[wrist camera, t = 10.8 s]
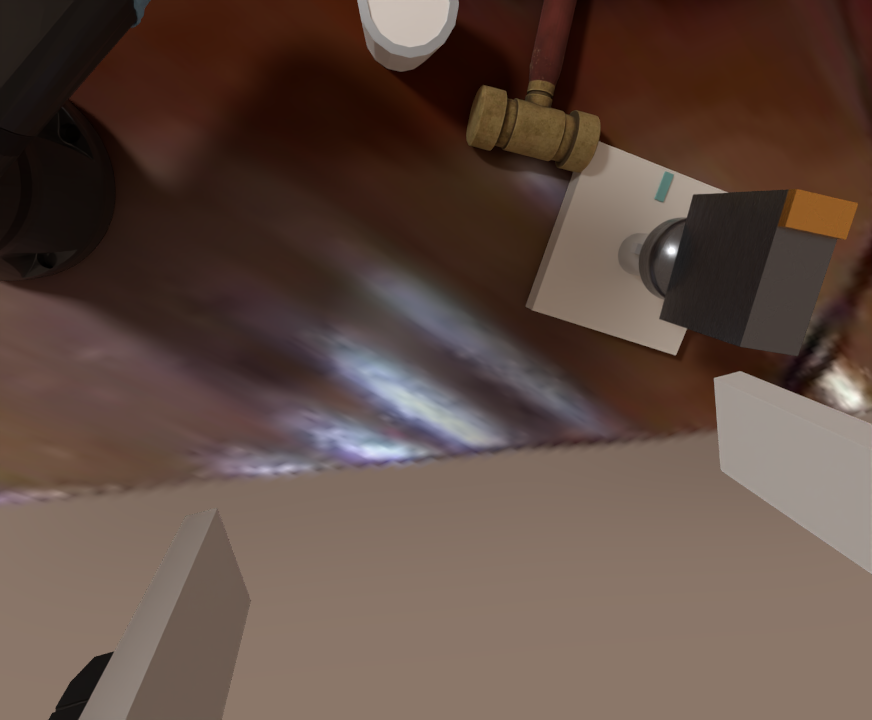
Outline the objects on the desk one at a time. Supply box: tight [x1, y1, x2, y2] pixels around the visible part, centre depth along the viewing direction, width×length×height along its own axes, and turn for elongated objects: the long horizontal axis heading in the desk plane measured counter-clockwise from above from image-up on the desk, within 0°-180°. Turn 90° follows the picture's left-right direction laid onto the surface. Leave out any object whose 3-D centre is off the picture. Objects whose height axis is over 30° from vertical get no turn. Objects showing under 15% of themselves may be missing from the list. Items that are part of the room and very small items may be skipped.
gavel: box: [466, 0, 600, 173], centre depth 45 cm, size 21×5×10 cm
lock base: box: [525, 141, 728, 355], centre depth 48 cm, size 15×15×8 cm
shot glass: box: [357, 0, 459, 72], centre depth 41 cm, size 7×7×7 cm
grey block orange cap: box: [638, 189, 858, 356], centre depth 38 cm, size 9×6×13 cm
